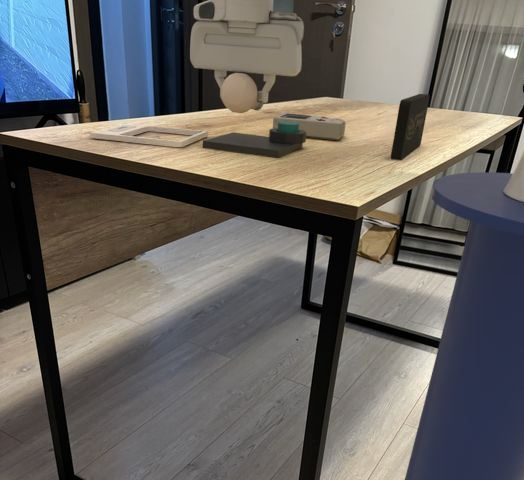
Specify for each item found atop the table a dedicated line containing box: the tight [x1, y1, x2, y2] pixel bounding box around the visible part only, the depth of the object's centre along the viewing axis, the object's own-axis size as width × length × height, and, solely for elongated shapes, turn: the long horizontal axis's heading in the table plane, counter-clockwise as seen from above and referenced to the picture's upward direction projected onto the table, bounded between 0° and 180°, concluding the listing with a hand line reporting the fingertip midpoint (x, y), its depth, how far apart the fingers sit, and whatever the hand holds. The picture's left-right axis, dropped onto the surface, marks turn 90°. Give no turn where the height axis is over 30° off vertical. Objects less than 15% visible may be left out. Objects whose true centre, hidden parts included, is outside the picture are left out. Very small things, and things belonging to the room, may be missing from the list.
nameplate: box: [390, 93, 431, 161], centre depth 104 cm, size 21×2×10 cm, turn 156°
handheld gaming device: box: [272, 112, 346, 141], centre depth 117 cm, size 9×15×4 cm, turn 74°
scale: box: [202, 127, 307, 159], centre depth 101 cm, size 16×14×3 cm
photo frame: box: [89, 122, 209, 148], centre depth 104 cm, size 15×1×18 cm
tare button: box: [277, 122, 299, 133], centre depth 102 cm, size 4×4×2 cm
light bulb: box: [220, 72, 265, 114], centre depth 97 cm, size 7×7×11 cm
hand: (243, 100), depth 97 cm, fingers closed on light bulb, 6 cm apart
